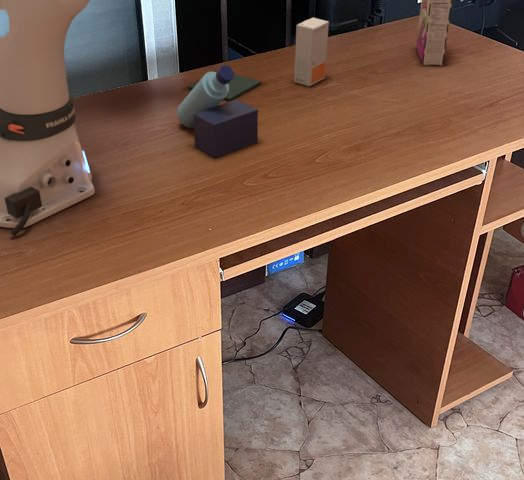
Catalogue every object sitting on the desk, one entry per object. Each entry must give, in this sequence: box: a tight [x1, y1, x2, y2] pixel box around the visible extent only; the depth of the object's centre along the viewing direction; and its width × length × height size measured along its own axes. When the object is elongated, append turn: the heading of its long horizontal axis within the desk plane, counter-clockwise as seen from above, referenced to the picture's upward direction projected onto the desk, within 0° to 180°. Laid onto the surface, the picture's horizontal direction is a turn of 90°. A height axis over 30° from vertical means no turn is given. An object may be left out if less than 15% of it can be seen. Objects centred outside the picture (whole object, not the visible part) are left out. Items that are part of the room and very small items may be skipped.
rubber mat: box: [187, 73, 262, 102], centre depth 165 cm, size 11×11×1 cm
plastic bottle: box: [176, 64, 235, 129], centre depth 143 cm, size 14×5×14 cm, turn 40°
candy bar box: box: [415, 0, 453, 67], centre depth 173 cm, size 11×5×16 cm, turn 179°
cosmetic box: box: [293, 17, 330, 87], centre depth 164 cm, size 6×4×12 cm
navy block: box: [193, 98, 259, 159], centre depth 142 cm, size 6×10×6 cm, turn 130°
